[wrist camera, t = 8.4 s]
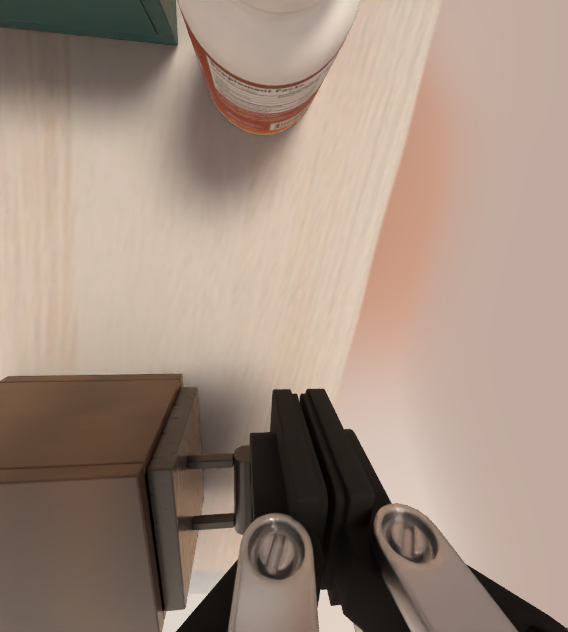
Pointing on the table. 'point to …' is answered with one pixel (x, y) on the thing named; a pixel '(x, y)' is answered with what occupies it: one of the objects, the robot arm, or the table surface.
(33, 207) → the table surface
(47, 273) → the table surface
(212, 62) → the pill bottle
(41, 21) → the chest
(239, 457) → the rack drawer
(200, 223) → the table surface
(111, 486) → the cabinet
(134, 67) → the table surface
